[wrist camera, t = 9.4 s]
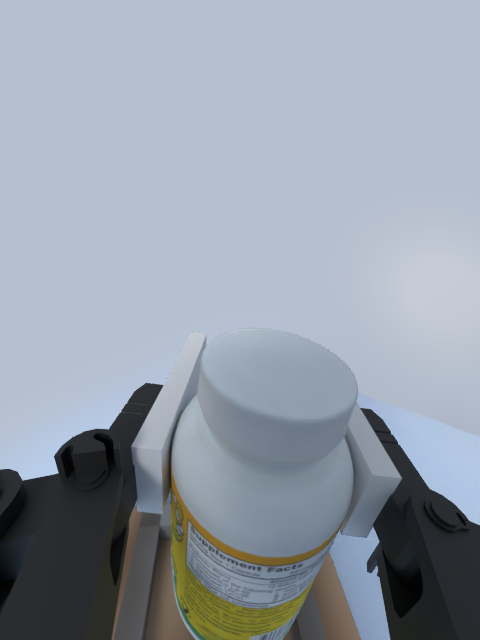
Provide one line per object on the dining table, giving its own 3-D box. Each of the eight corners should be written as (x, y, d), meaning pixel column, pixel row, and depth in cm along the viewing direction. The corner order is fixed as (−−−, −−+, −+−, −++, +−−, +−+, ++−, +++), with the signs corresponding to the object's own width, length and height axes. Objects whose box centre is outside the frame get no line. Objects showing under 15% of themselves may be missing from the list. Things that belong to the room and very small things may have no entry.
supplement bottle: (294, 711, 7) (450, 520, 3) (138, 613, 8) (110, 394, 4) (304, 511, 11) (368, 341, 8) (206, 470, 13) (221, 308, 9)
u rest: (306, 501, 23) (313, 481, 22) (426, 851, 10) (460, 851, 9) (111, 514, 20) (108, 493, 19) (-55, 1026, 7) (-98, 1058, 6)
